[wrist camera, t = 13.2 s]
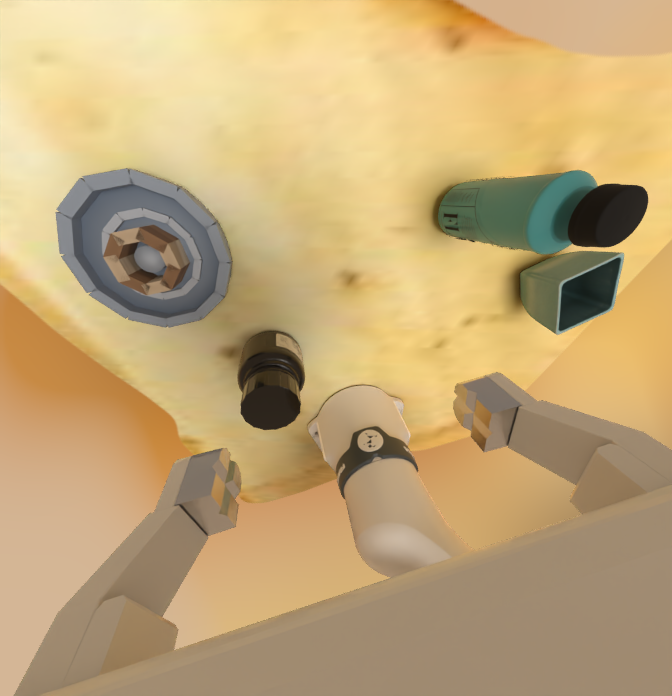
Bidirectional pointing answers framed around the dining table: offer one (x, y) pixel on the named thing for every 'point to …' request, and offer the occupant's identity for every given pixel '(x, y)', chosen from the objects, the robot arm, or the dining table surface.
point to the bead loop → (127, 269)
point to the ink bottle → (271, 380)
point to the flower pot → (571, 288)
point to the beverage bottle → (543, 212)
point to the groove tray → (143, 245)
